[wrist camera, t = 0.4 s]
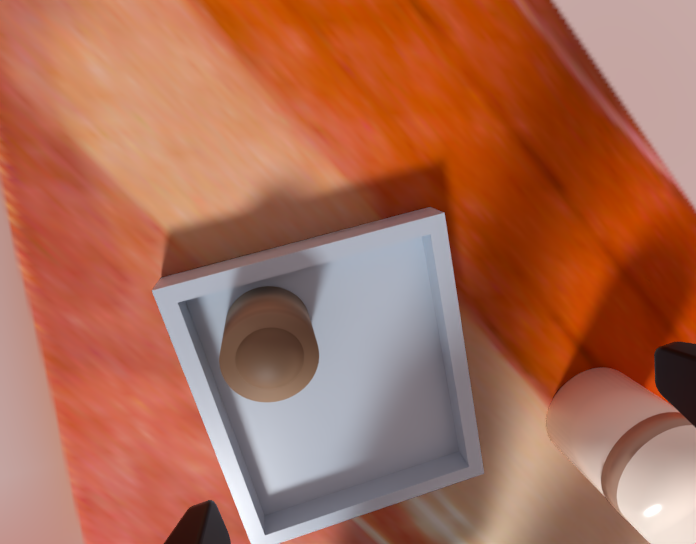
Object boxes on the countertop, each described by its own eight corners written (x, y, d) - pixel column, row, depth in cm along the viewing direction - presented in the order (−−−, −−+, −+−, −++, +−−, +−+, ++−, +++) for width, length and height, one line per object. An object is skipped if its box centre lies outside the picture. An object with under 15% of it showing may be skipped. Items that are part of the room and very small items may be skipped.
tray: (469, 452, 27) (484, 473, 25) (254, 523, 25) (254, 551, 23) (430, 206, 22) (444, 212, 20) (160, 277, 20) (151, 290, 19)
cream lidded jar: (635, 436, 29) (746, 524, 22) (548, 465, 28) (637, 566, 22) (634, 354, 27) (755, 424, 20) (541, 383, 26) (636, 466, 20)
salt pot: (318, 350, 22) (331, 396, 18) (239, 373, 22) (235, 425, 18) (298, 276, 21) (307, 308, 17) (213, 299, 21) (203, 337, 17)
